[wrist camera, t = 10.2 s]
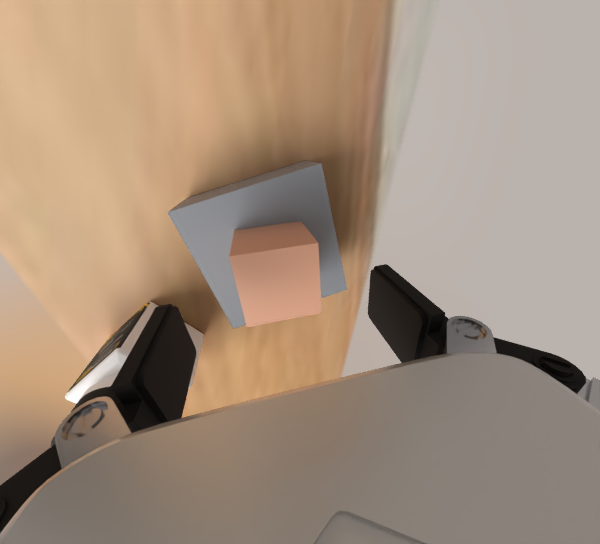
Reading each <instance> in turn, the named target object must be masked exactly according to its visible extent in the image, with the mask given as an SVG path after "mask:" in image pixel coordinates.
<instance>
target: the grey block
mask: <svg viewBox="0 0 600 544" xmlns="http://www.w3.org/2000/svg"><path fill="white" fill-rule="evenodd" d="M168 214H169V216H170V218H171V219H172V221H173V223H174V225H175V226H176V228H177V230H178V232H179V234H180V235H181V237H182V239H183V241H184V242H185V244H186V246H187V248H188V249H189V251H190V253H191V255H192V257H193V258H194V260H195V262H196V264H197V265H198V267H199V269H200V271H201V272H202V274H203V276H204V278H205V279H206V281H207V283H208V285H209V287H210V288H211V290H212V292H213V294H214V295H215V297H216V299H217V301H218V302H219V304H220V306H221V308H222V309H223V311H224V313H225V315H226V317H227V318H228V320H229V322H230V324H231V325H232V327H233V329H234V328H237V327H240V326H243V325H246V322H245V318H244V314H243V310H242V306H241V302H240V298H239V294H238V290H237V286H236V282H235V278H234V274H233V270H232V266H231V262H230V258H229V255H230V250H231V245H232V239H233V234H234V230H240V229H247V228H254V227H262V226H269V225H276V224H284V223H291V222H298V221H301V222H302V223H303V224H304V226H305V227H306V228H307V229H308V231H309V232H310V233H311V234H312V236H313V237H314V238H315V239H316V241H317V242H318V247H319V268H320V288H321V298H323V297H326V296H329V295H332V294H335V293H338V292H341V291H343V290H346V289H347V286H346V281H345V276H344V271H343V266H342V261H341V257H340V252H339V247H338V242H337V237H336V232H335V227H334V222H333V217H332V212H331V207H330V202H329V197H328V192H327V187H326V182H325V177H324V172H323V168H322V163H318V162H310V161H302V162H298V163H295V164H292V165H289V166H286V167H283V168H280V169H277V170H273V171H270V172H267V173H264V174H261V175H258V176H255V177H251V178H248V179H245V180H242V181H239V182H236V183H233V184H230V185H226V186H223V187H220V188H217V189H214V190H211V191H208V192H204V193H201V194H198V195H195V196H192V197H189V198H187V199H185V200H184V201H182V202H181V203H180V204H178V205H177V206H176V207H174V208H173V209H171V210H170V211H169V212H168Z"/></svg>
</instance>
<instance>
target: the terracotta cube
mask: <svg viewBox="0 0 600 544" xmlns="http://www.w3.org/2000/svg"><path fill="white" fill-rule="evenodd" d="M229 258H230V262H231V266H232V270H233V274H234V278H235V282H236V286H237V290H238V294H239V298H240V302H241V306H242V310H243V314H244V318H245V322H246V326H247V327H251V326H256V325H261V324H267V323H272V322H277V321H282V320H287V319H292V318H298V317H303V316H308V315H313V314H318V313H322V309H321V288H320V268H319V247H318V242H317V241H316V239H315V238H314V237H313V236H312V234H311V233H310V232H309V231H308V229H307V228H306V227H305V226H304V224H303V223H302V222H301V221H298V222H291V223H284V224H276V225H269V226H262V227H254V228H247V229H240V230H234V234H233V239H232V245H231V250H230V255H229Z"/></svg>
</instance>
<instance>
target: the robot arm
mask: <svg viewBox="0 0 600 544" xmlns="http://www.w3.org/2000/svg"><path fill="white" fill-rule="evenodd" d="M368 315H369V318H370V319H371V321H372V322H373V324H374V325H375V326H376V328H377V329H378V330H379V332H380V333H381V335H382V336H383V337H384V339H385V340H386V341H387V343H388V344H389V345H390V347H391V348H392V350H393V351H394V353H395V354H396V355H397V357H398V358H399V359H400V361H401V362H402V363H400V364H396V365H391V366H387V367H383V368H379V369H375V370H371V371H367V372H363V373H359V374H354V375H350V376H346V377H342V378H338V379H334V380H330V381H326V382H322V383H318V384H313V385H309V386H305V387H301V388H297V389H293V390H289V391H285V392H281V393H277V394H273V395H269V396H265V397H261V398H257V399H254V400H250V401H246V402H242V403H238V404H234V405H230V406H226V407H222V408H218V409H214V410H210V411H206V412H202V413H199V414H195V415H191V416H188V417H184V418H181V417H182V413H183V409H184V405H185V401H186V396H187V392H188V388H189V384H190V380H191V376H192V371H193V367H194V363H195V359H196V348H195V346H194V343H193V341H192V339H191V337H190V334H189V332H188V330H187V328H186V325H185V323H184V321H183V319H182V316H181V314H180V312H179V310H178V308H177V307H176V306H175V307H173V305H171V304H168V305H163V306H157V307H156V308H155V309H154V311H153V313H152V315H151V316H150V318H149V320H148V322H147V323H146V325H145V327H144V329H143V331H142V332H141V334H140V336H139V338H138V339H137V341H136V343H135V345H134V346H133V348H132V350H131V352H130V353H129V355H128V357H127V359H126V361H125V362H124V364H123V366H122V368H121V369H120V371H119V373H118V375H117V376H116V378H115V380H114V382H113V384H112V385H111V387H110V390H109V391H108V393H107V395H106V397H105V396H103V397H97V398H94V399H92V400H89V401H87V402H85V403H84V404H82V405H80V406H79V407H78V408H76V409H75V410H74V411H72V412H71V413H70V414H69V415H68V416H67V417H66V418H65V419H64V420H63V421H62V423H61V424H60V426H59V427H58V429H57V431H56V434H55V445H53V446H52V447H51V448H49V449H48V450H47V451H45V452H44V453H43V454H41V455H40V456H39V457H37V458H36V459H35V460H33V461H32V462H31V463H30V464H28V465H27V466H25V467H24V468H23V469H22V470H20V471H19V472H18V473H16V474H15V475H14V476H12V477H11V478H10V479H8V480H7V481H6V482H4V483H3V484H2V485H0V544H600V380H598V379H596V378H593V379H592V380H591V381H590V380H588V379H586V377H585V376H584V374H583V373H582V371H580V370H579V369H578V368H577V367H576V366H575V365H573V364H572V363H570V362H569V361H567V360H565V359H563V358H561V357H559V356H556V355H553V354H551V353H547V352H544V351H540V350H537V349H533V348H530V347H526V346H522V345H519V344H515V343H512V342H508V341H505V340H501V339H497V338H494V337H493V335H492V332H491V330H490V329H489V328H488V327H487V326H486V325H485V324H483V323H482V322H480V321H478V320H476V319H473V318H469V317H465V316H455V317H452V318H450V319H448V318H447V317H446V316H445V312H443V311H442V310H441V309H440V308H439V307H437V306H436V305H435V304H434V303H432V302H431V301H430V300H429V299H428V298H427V297H425V296H424V295H423V294H422V293H420V292H419V291H418V290H417V289H416V288H415V287H413V286H412V285H411V284H410V283H409V282H407V281H406V280H405V279H404V278H403V277H401V276H400V275H399V274H398V273H396V272H395V271H394V270H393V269H392V268H391V267H389V266H388V265H380V266H375V267H374V270H371V276H370V289H369V303H368Z"/></svg>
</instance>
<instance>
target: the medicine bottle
mask: <svg viewBox="0 0 600 544" xmlns="http://www.w3.org/2000/svg"><path fill="white" fill-rule="evenodd" d="M157 306H158V305H156V304H155V303H153V302H148V303H146V304H145V305H144V306H143V307H142V308H141V309H140V310H139V311H138V312H137V313H136V314H135V315H134V316H132V317H131V318H130V319H129V320H128V321H127V322H126V323H125V324H124V325H123V326H122V327H121V328H119V329H118V330H117V331H116V332H115V333H114V334H113V335H112V336H111V337H110V338H109V339H108V340H107V341H106V342H105V344H104V345H103V346H102V348H101V349H100V350H99V351H98V353H97V354H96V355H95V357H94V358H93V359H92V361H91V362H90V363H89V365H88V366H87V367H86V369H85V370H84V371H83V373H82V374H81V375H80V377H79V378H78V379H77V381H76V382H75V383H74V384H73V386H72V387H71V388H70V390H69V391H68V392H67V394H66V396H65V398H66V400H68V401H71V402H74V403H77V404H76V406H75V407H74V408H73V410H72V411H74V410H75V409H76V408H78V407H79V406H80V405H82V404H84V403H85V402H87V401H89V400H92V399H94V398H97V397H103V396H105V397H106V395H107V393H108V391H109V390H110V387H111V385H112V384H113V382H114V380H115V378H116V376H117V375H118V373H119V371H120V369H121V368H122V366H123V364H124V362H125V361H126V359H127V357H128V355H129V353H130V352H131V350H132V348H133V346H134V345H135V343H136V341H137V339H138V338H139V336H140V334H141V332H142V331H143V329H144V327H145V325H146V323H147V322H148V320H149V318H150V316H151V315H152V313H153V311H154V309H155V308H156V307H157ZM184 323H185V322H184ZM185 325H186V328H187V330H188V332H189V334H190V337H191V339H192V341H193V343H194V346H195V348H196V359H195V363H194V367H193V371H192V376H191V380H190V384H189V388H190V387H191V386H192V383H193V379H194V375H195V371H196V367H197V363H198V359H199V355H200V351H201V346H202V342H203V338H204V334H203V333H201V332H199V331H198V330H196V329H195V328H193V327H191V326H190V325H188V324H187V323H185ZM189 388H188V389H189ZM72 411H71V412H72ZM53 445H55V436H54V438H53V440H52V442H51V447H52V446H53Z"/></svg>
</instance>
